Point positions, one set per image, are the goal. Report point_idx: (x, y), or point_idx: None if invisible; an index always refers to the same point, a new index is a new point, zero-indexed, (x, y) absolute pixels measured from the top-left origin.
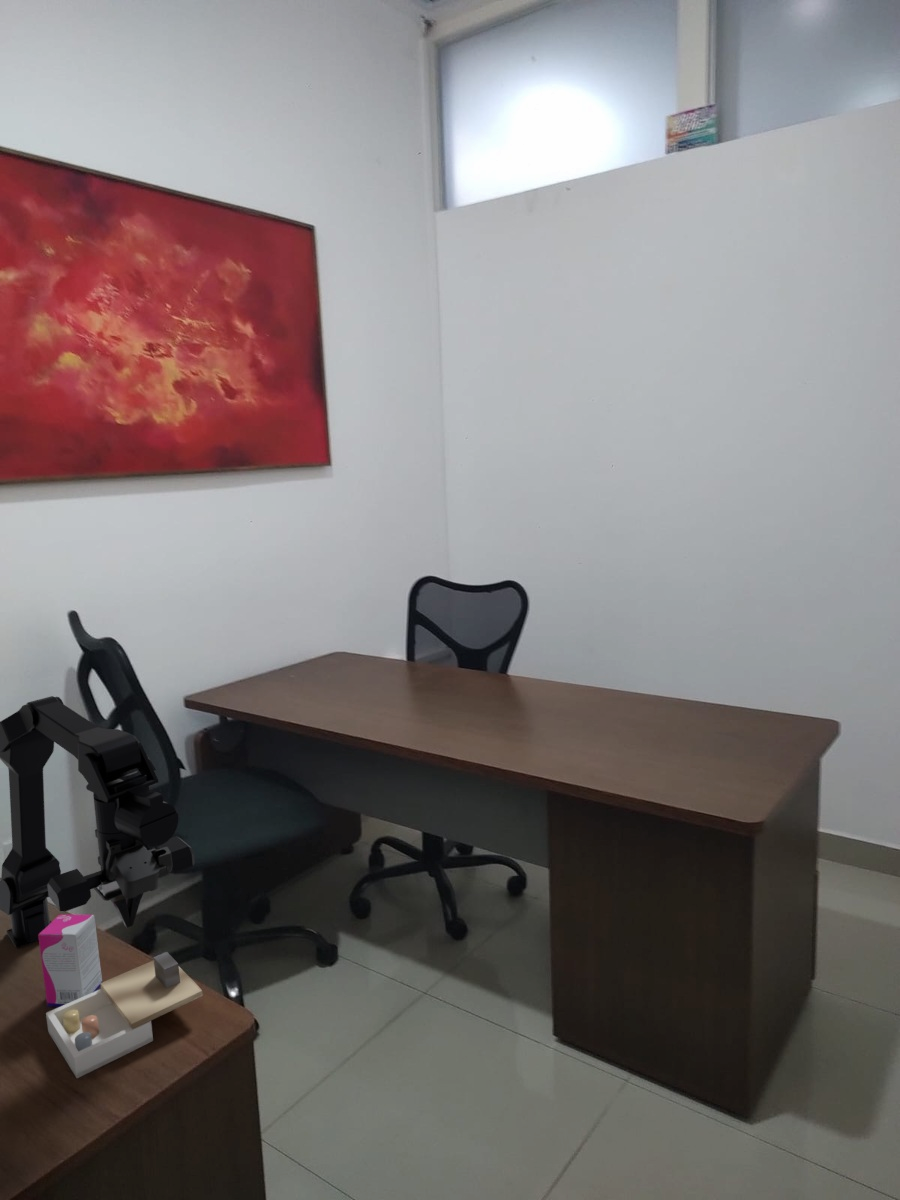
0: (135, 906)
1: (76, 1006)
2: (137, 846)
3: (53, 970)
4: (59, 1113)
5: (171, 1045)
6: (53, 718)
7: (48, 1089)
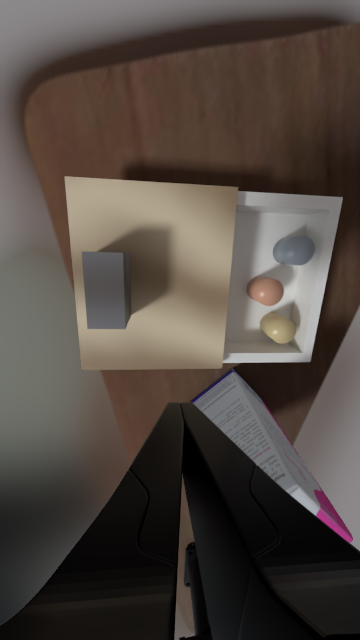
0: (154, 467)
1: (263, 350)
2: None
3: (286, 439)
4: None
5: (169, 158)
6: None
7: (350, 216)
